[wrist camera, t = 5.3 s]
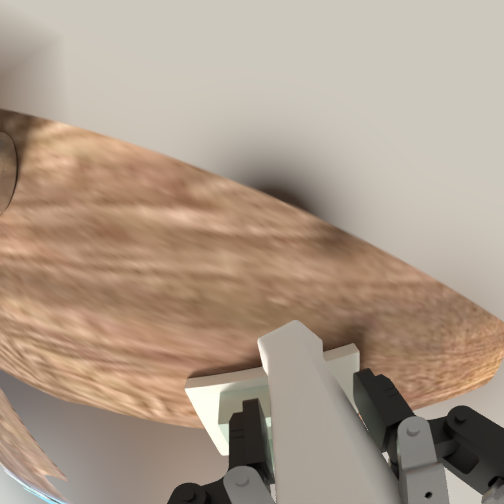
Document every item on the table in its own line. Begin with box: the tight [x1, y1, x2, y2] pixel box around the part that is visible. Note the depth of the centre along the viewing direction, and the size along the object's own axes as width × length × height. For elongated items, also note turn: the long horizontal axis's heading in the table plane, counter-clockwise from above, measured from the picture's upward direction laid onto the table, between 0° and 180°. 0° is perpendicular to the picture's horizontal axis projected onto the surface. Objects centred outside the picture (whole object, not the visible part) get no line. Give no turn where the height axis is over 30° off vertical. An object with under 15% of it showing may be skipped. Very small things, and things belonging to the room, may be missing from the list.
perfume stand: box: [184, 343, 359, 471], centre depth 22 cm, size 16×12×6 cm
